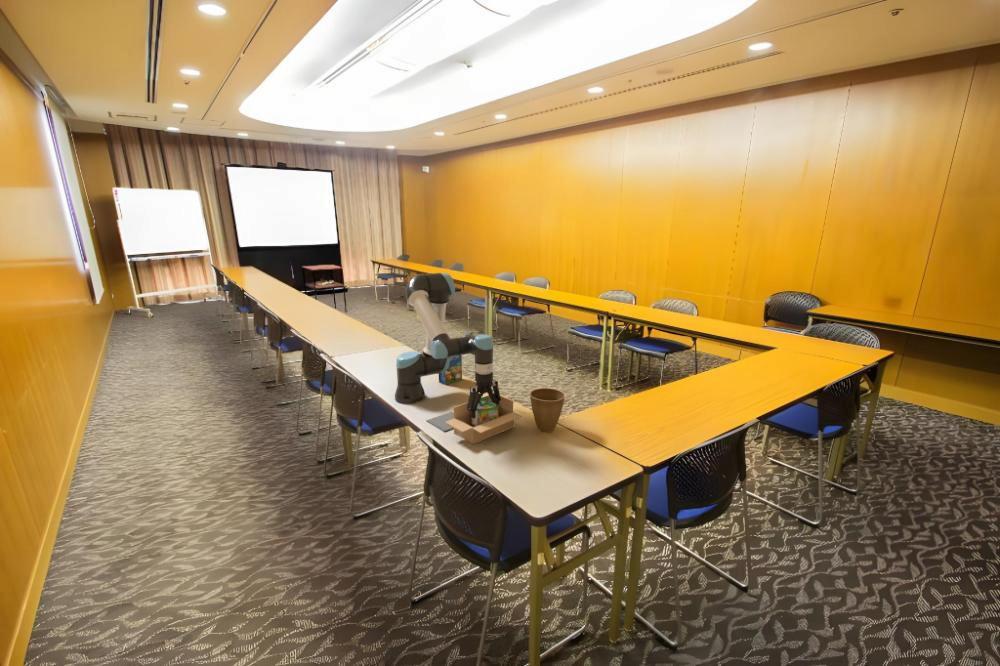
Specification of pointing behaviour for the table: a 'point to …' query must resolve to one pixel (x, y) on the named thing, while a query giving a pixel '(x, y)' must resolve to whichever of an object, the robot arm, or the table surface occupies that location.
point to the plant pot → (546, 407)
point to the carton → (484, 430)
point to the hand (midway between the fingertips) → (484, 420)
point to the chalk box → (486, 411)
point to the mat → (442, 421)
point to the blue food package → (452, 370)
